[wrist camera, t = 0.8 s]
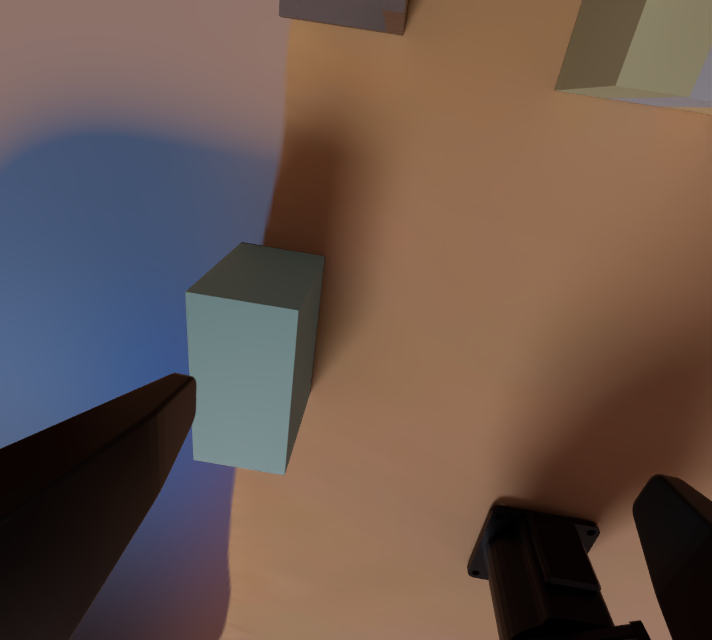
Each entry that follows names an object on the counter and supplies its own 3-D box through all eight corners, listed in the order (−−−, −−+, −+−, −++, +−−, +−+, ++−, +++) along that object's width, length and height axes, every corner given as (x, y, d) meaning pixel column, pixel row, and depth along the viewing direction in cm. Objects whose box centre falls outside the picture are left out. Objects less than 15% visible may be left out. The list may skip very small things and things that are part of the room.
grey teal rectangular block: (310, 392, 24) (284, 475, 19) (239, 380, 24) (193, 459, 19) (325, 255, 20) (298, 310, 15) (241, 241, 20) (185, 292, 15)
